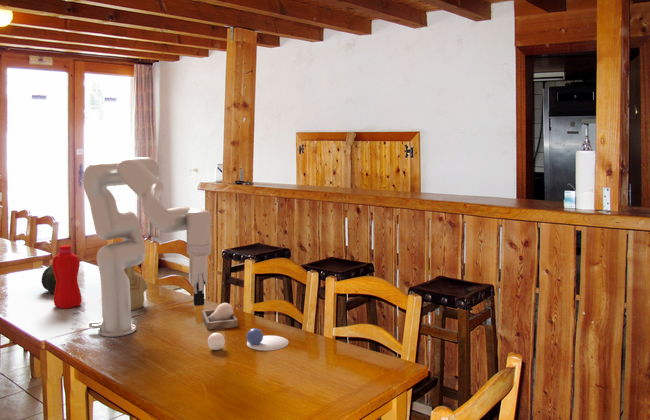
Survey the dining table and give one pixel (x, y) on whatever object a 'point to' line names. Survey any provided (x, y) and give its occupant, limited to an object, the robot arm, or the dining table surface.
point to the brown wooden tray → (218, 324)
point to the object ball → (254, 336)
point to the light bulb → (221, 313)
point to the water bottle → (66, 278)
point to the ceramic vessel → (136, 288)
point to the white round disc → (270, 343)
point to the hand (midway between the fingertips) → (199, 304)
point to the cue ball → (216, 341)
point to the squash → (49, 280)
